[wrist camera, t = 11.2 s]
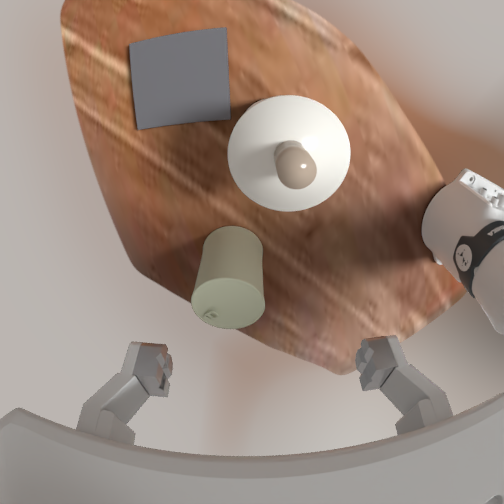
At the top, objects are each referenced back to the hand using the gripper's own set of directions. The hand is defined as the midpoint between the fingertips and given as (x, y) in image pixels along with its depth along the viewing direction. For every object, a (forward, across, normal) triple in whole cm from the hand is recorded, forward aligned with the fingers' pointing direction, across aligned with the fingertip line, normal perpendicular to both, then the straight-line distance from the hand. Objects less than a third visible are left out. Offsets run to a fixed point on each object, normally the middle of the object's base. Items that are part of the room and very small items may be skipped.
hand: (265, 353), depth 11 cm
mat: (+29, +9, -11) cm, 32 cm away
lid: (+18, -3, -3) cm, 19 cm away
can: (+29, +3, +15) cm, 33 cm away
